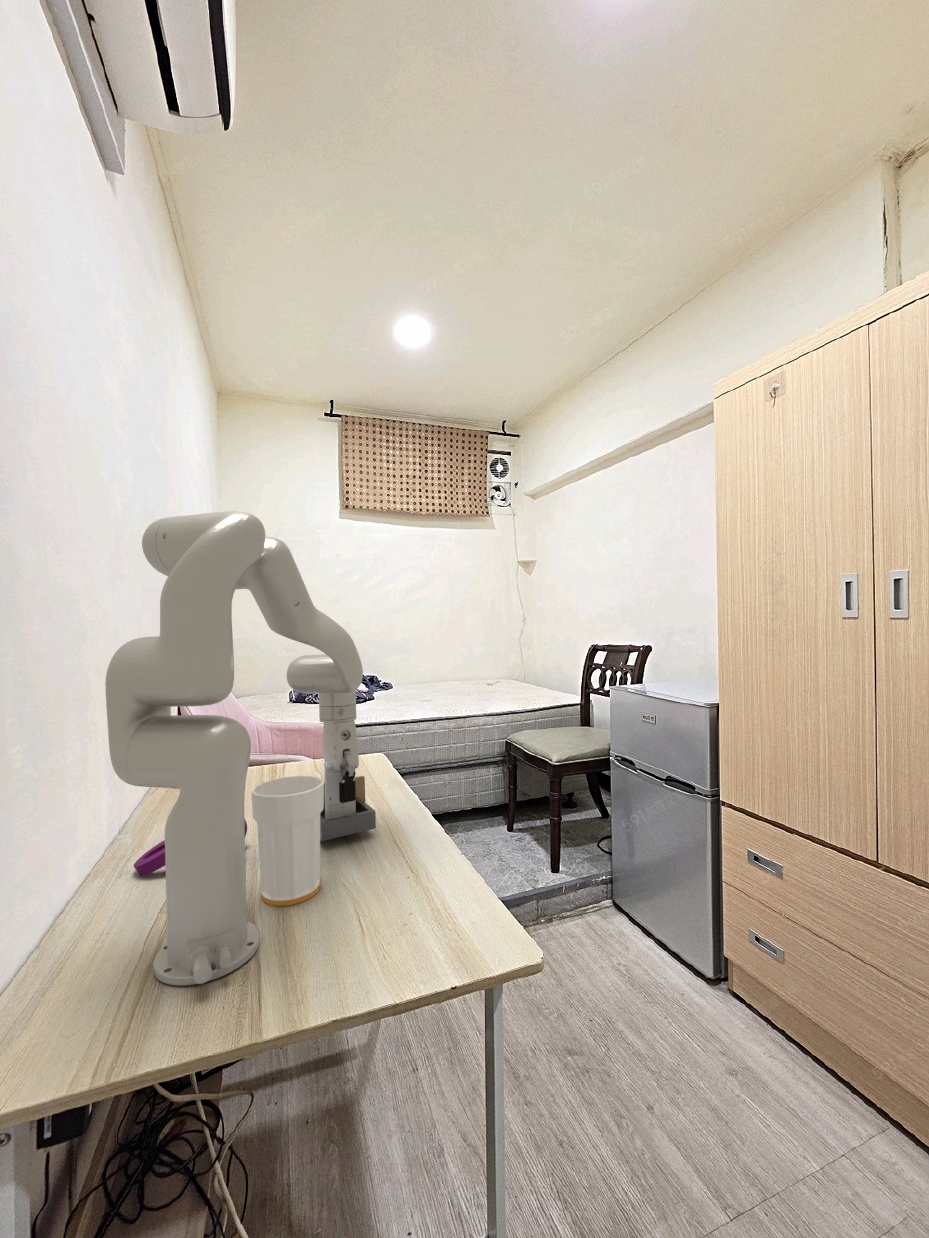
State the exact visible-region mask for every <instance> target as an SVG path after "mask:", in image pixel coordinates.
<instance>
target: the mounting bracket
mask: <svg viewBox="0 0 929 1238" xmlns="http://www.w3.org/2000/svg"><path fill="white" fill-rule="evenodd" d="M244 823H245V838H246V836H247V834H248V823H247V821H246V818H245V817H244ZM163 867H165V839H164V840H162V841H160V842H159V843H158V844H156V845H154V846H153V847H151V848H150V849H149V850H147V851H146V852H144V853H143V854H142V855H141V856H140V857H139V858H138V859H136V861H135V862H134V864H133V868H134V869H135V871H136V872H137V874H138V876H139V877H145V876H148V875H150V874H153V873H154V872H157V871H158V870H159V869H162V868H163Z"/></svg>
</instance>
